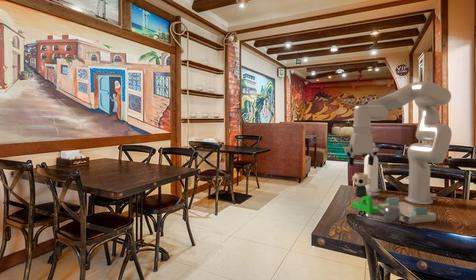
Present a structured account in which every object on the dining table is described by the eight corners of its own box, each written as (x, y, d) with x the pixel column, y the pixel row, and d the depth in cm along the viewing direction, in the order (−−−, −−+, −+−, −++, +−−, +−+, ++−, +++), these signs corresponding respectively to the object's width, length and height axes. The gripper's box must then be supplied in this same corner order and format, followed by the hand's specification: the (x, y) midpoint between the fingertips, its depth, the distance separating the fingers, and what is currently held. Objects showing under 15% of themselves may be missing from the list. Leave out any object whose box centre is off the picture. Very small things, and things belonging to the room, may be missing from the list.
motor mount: (402, 207, 136) (402, 196, 135) (435, 220, 118) (436, 207, 118) (364, 211, 131) (364, 199, 131) (392, 225, 113) (393, 211, 113)
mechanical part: (379, 212, 130) (379, 196, 129) (369, 214, 128) (369, 197, 127) (360, 205, 141) (361, 190, 140) (351, 206, 139) (351, 191, 139)
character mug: (348, 194, 160) (349, 173, 159) (355, 192, 164) (356, 171, 163) (366, 199, 151) (366, 176, 150) (373, 196, 155) (373, 174, 154)
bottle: (360, 189, 171) (361, 143, 168) (370, 188, 173) (371, 142, 171) (371, 193, 163) (372, 144, 161) (380, 191, 166) (381, 143, 164)
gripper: (374, 130, 136) (373, 163, 137) (341, 130, 135) (340, 164, 137) (383, 130, 129) (382, 166, 130) (348, 131, 128) (347, 166, 129)
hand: (361, 165), depth 133 cm, fingers open, 9 cm apart
